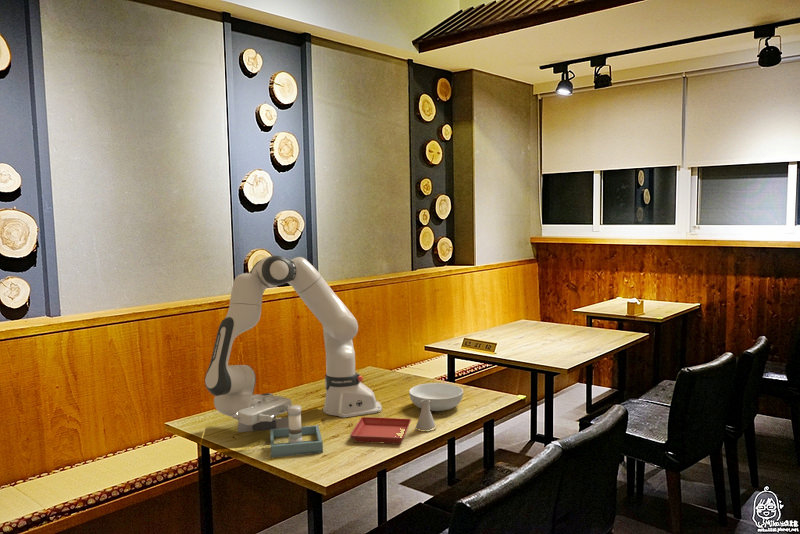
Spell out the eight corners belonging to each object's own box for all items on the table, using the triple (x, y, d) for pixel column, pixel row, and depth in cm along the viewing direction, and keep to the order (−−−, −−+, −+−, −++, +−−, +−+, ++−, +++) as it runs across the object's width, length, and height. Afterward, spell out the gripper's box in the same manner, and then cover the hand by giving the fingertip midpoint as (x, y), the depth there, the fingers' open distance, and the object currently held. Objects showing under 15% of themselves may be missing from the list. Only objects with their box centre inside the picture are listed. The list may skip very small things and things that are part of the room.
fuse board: (289, 419, 227) (289, 410, 227) (290, 430, 216) (290, 420, 215) (239, 423, 223) (238, 414, 223) (237, 435, 212) (237, 425, 211)
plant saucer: (404, 447, 200) (403, 437, 200) (349, 444, 203) (349, 434, 203) (411, 427, 218) (411, 418, 217) (361, 425, 221) (361, 416, 220)
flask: (429, 433, 211) (429, 405, 210) (411, 430, 215) (411, 401, 214) (439, 427, 217) (439, 399, 216) (422, 424, 221) (421, 396, 220)
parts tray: (318, 435, 211) (318, 425, 210) (322, 452, 195) (322, 441, 195) (270, 439, 207) (270, 429, 207) (271, 457, 192) (270, 446, 191)
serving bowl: (398, 406, 241) (398, 389, 240) (439, 396, 254) (438, 380, 253) (433, 420, 225) (433, 401, 224) (474, 408, 237) (474, 391, 237)
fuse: (302, 440, 204) (300, 404, 203) (302, 445, 199) (301, 408, 198) (288, 441, 203) (287, 405, 202) (288, 446, 199) (287, 410, 198)
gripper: (228, 407, 202) (259, 414, 194) (273, 391, 219) (302, 397, 211) (229, 426, 202) (260, 433, 195) (273, 409, 219) (303, 415, 212)
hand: (282, 414), depth 203 cm, fingers open, 8 cm apart
